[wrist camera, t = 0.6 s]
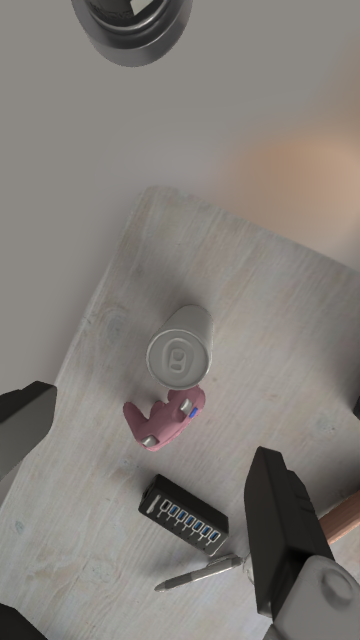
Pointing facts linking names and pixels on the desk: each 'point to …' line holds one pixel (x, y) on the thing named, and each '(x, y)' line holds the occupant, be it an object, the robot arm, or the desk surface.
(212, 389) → the desk surface
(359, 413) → the cup holder
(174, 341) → the beverage can
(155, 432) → the video game controller
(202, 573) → the pen
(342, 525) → the pizza cutter
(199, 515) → the multiport hub
